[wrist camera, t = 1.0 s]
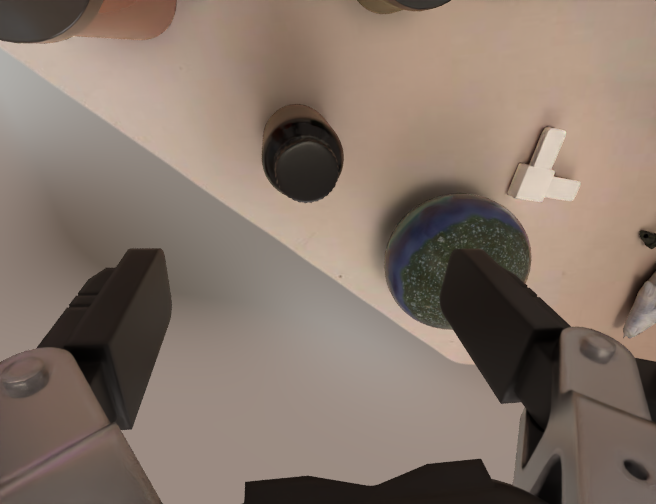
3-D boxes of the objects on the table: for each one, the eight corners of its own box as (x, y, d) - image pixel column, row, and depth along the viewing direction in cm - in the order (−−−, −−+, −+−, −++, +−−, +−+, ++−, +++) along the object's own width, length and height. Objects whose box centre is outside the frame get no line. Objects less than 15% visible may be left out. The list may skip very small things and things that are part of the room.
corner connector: (602, 139, 42) (590, 136, 43) (545, 125, 39) (534, 124, 41) (570, 207, 45) (560, 202, 46) (515, 198, 42) (506, 194, 44)
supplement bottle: (315, 180, 40) (331, 226, 30) (254, 158, 38) (248, 199, 28) (340, 118, 38) (367, 145, 27) (275, 91, 36) (278, 110, 25)
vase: (440, 150, 41) (503, 193, 29) (520, 226, 46) (598, 288, 35) (348, 249, 45) (370, 320, 34) (430, 307, 51) (473, 384, 40)
